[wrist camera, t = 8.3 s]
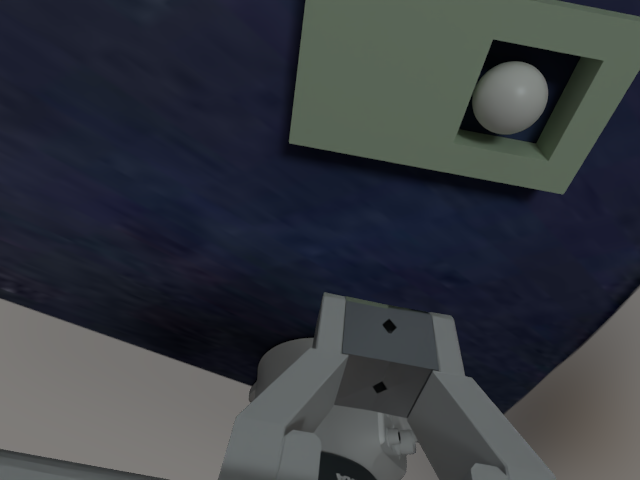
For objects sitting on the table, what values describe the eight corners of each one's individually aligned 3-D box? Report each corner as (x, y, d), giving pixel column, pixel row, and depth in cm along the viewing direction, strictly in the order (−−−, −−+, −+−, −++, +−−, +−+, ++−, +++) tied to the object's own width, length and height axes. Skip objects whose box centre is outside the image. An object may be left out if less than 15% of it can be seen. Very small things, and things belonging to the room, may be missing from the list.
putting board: (640, 16, 23) (665, 27, 21) (550, 175, 29) (563, 194, 27) (315, -47, 23) (310, -43, 21) (294, 127, 29) (288, 143, 27)
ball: (521, 130, 22) (454, 101, 24) (520, 154, 26) (462, 127, 27) (567, 62, 22) (495, 37, 23) (559, 96, 25) (498, 72, 27)
